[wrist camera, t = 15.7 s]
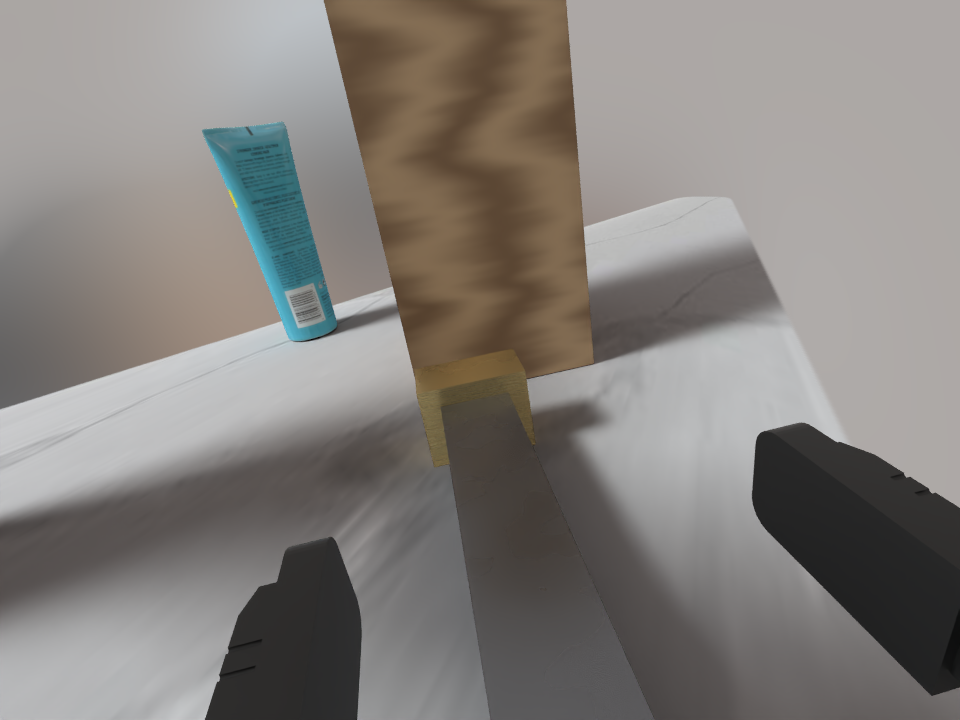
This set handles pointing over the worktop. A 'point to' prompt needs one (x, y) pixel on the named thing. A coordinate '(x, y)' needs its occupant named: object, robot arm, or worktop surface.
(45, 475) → the worktop surface
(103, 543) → the worktop surface
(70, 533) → the worktop surface
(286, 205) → the tube
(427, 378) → the grey long block
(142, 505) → the worktop surface
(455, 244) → the post
